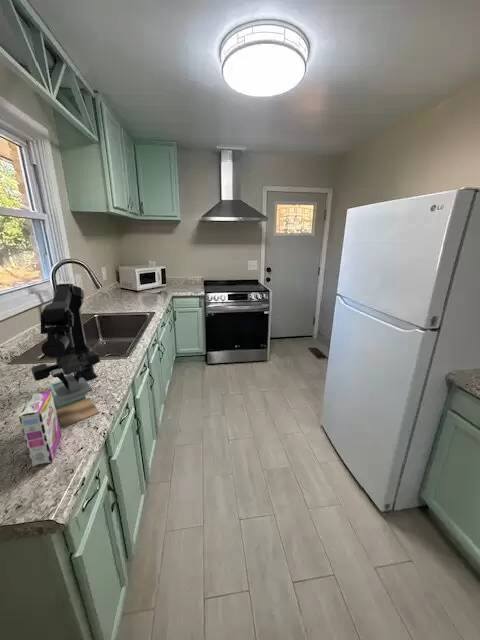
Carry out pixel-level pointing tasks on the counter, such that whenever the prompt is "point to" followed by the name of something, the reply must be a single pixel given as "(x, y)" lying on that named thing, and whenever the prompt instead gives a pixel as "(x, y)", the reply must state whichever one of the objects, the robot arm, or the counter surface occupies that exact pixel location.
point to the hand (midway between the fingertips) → (72, 386)
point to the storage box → (63, 403)
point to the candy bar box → (40, 428)
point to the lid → (72, 388)
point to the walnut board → (76, 412)
